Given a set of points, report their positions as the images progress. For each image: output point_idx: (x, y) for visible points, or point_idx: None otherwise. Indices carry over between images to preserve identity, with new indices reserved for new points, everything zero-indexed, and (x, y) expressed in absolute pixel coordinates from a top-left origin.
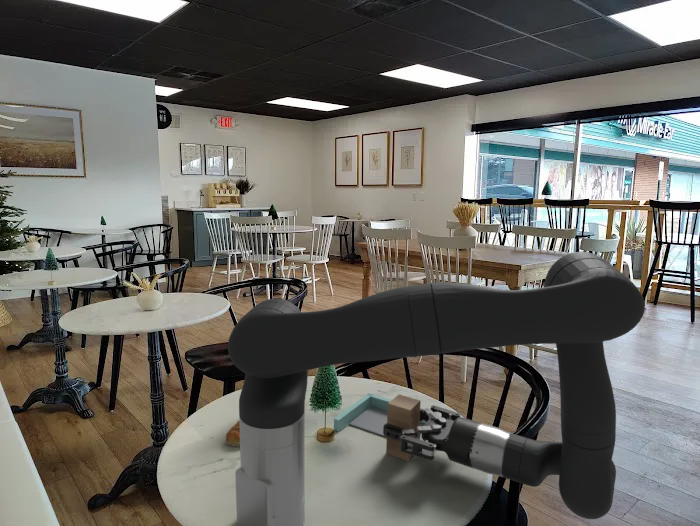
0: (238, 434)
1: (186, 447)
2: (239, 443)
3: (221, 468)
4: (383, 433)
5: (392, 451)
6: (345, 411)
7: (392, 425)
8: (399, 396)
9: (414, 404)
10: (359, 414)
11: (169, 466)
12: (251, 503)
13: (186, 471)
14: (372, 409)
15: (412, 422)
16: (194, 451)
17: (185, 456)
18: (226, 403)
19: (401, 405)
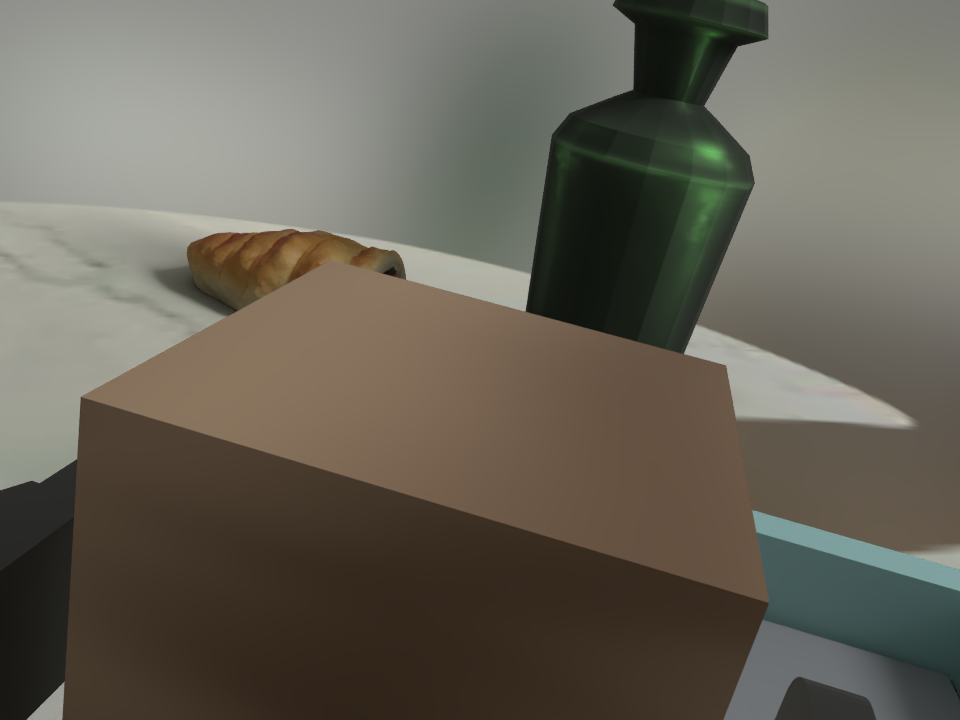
0: (216, 239)
1: (177, 227)
2: (190, 269)
3: (26, 263)
4: None
5: None
6: None
7: (49, 512)
8: (654, 360)
9: (436, 480)
10: (769, 618)
11: (52, 208)
12: None
13: (14, 223)
14: (915, 688)
15: None
16: (152, 235)
17: (117, 225)
18: (505, 278)
19: (307, 338)
